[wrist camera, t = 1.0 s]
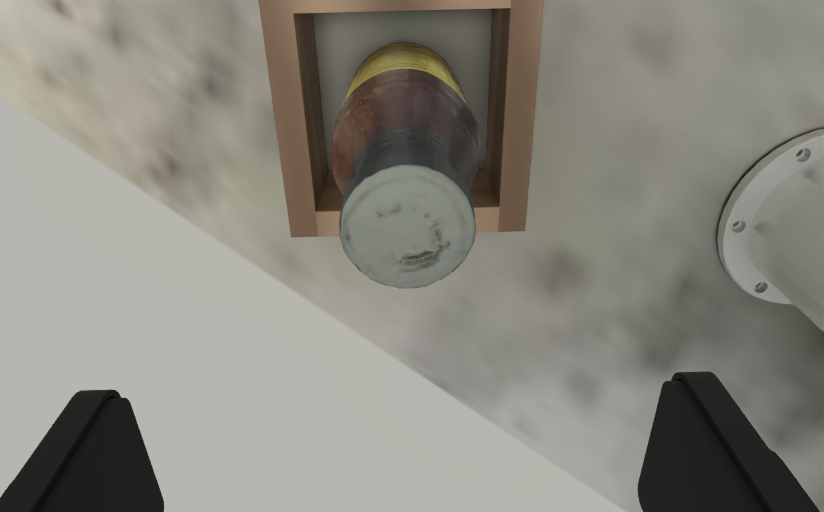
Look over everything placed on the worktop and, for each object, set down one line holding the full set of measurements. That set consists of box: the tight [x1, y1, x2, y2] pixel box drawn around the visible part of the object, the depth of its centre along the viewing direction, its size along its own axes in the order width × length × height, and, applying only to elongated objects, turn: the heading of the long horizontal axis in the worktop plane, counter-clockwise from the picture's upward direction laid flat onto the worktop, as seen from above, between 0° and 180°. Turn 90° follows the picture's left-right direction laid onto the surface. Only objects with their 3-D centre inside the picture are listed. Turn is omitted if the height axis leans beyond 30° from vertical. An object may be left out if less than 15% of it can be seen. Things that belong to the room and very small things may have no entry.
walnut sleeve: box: [259, 0, 544, 237], centre depth 32 cm, size 13×13×6 cm
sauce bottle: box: [330, 43, 482, 288], centre depth 26 cm, size 7×6×20 cm
